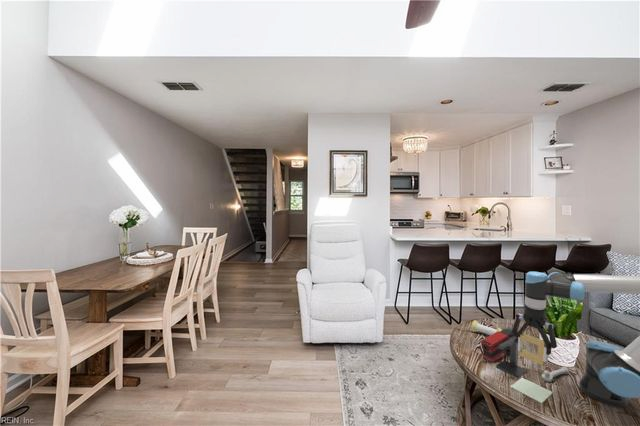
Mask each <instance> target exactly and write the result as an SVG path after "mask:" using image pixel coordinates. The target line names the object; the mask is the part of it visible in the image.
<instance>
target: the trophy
mask: <svg viewBox="0 0 640 426" xmlns="http://www.w3.org/2000/svg"><path fill="white" fill-rule="evenodd" d="M502 330H503V329H502V328H501V327H498V328H496V329H495V328H492V327H490V326H486V325H484V324H481V323H480V322H478V321H477V320H476V319H475V320H473V321H472V323H471V331H472V333H475V332H476V333H477V332H480V333H483V334H486V335H489V336H491V335H492V334H494V333H496V332H497V331H498V332H500V331H502ZM528 349H529V348H528V347H527V345H526V344H523V345H522V350H524V351H526V352H527V350H528Z"/></svg>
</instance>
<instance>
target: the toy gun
mask: <svg viewBox="0 0 640 426" xmlns="http://www.w3.org/2000/svg"><path fill="white" fill-rule="evenodd" d="M512 329H513V327H512V326H507V328H506V329H501V330H502V331H500V332H498V331H497V332H496V333H494V334H492V335H489V336H488V337H487V336H486V337H485V338H484V339H482V340H481V341H480V343H481V346H480V347H481V349H482V358H483V359H484V360H487V361H488V362H490V363H491V364H493V363H496V362H497V361H499V360H500V359H501V358H503V357H505V356H506V354H508V355H510V350H511V345H510V346H508V347H506V348H504V349H503V350H501V349H498V345H500V344H502V343H503V342H505V341H507V340H509V339H511V337H513V336H514V337H516V335H515V334H513V333H512Z"/></svg>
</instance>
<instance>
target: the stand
mask: <svg viewBox="0 0 640 426" xmlns="http://www.w3.org/2000/svg"><path fill="white" fill-rule="evenodd" d="M510 345H511V350H510V354H509V361H508V360H506V359H505V360H502V361H501V362H499V363H498V364H496V365H495V367H496V368H497V369H499V370H501V371H503V372H504V373H506V374H509V375H510V376H513V377H515V378H517V379H520V378H522V376H523V375H525V374H527V372H528V371H527V369H525V368H523V367H521V366H519V365H518V359H519V357H518V355H519V351H518V343H517V342H516V337H514V336H513V337H511V339H509V340H507V341H505V342H503V343H502V344H500V345H498V349H501V350H503V349H504V348H506V347H508V346H510Z"/></svg>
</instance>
